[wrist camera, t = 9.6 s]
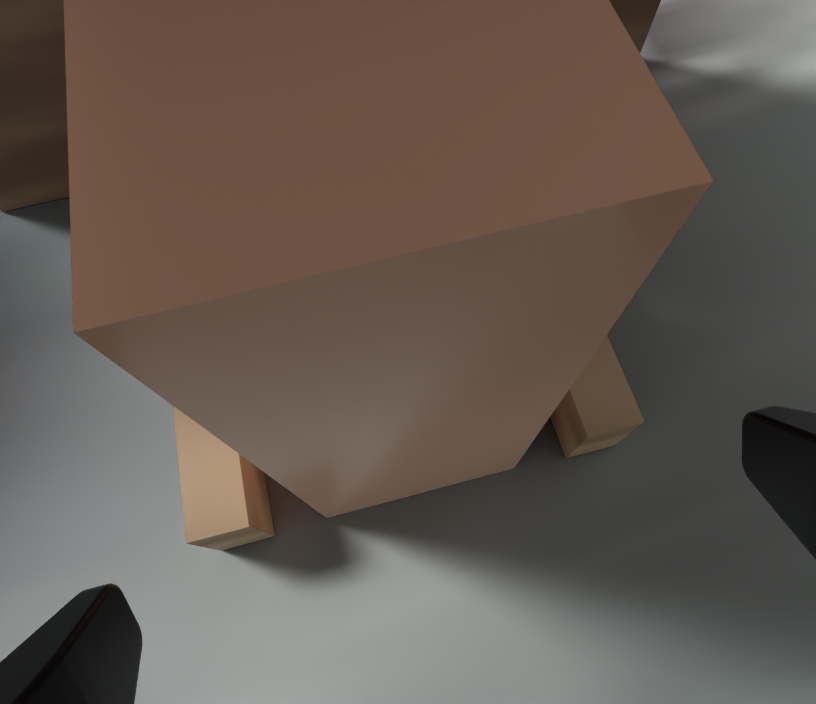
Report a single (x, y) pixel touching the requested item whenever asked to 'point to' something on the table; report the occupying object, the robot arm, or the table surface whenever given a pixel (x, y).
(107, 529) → the table surface
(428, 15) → the terracotta box
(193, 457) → the shelf
